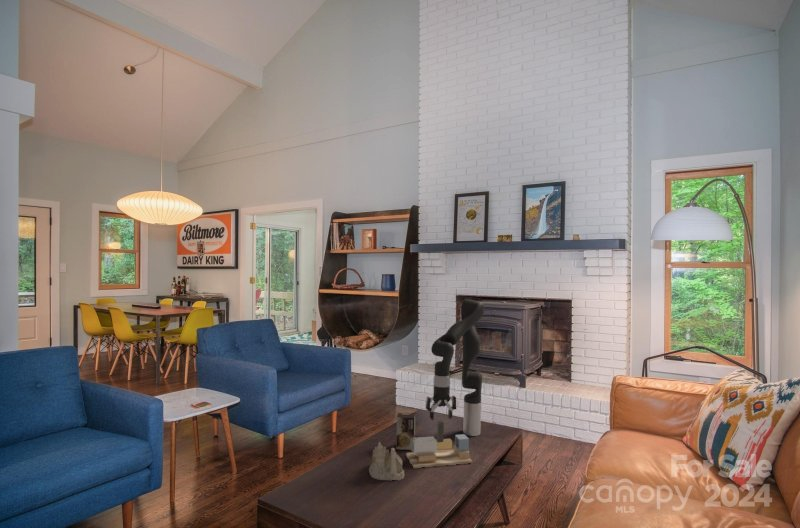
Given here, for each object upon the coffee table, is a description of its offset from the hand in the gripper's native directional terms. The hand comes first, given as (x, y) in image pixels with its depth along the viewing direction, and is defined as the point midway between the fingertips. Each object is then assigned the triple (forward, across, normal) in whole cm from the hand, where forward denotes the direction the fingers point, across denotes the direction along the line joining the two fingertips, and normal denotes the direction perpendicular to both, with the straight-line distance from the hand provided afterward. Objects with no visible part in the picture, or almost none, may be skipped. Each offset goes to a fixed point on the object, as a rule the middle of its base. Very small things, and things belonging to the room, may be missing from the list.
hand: (440, 418), depth 212 cm
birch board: (+19, +1, 0) cm, 19 cm away
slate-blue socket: (+18, -11, 0) cm, 21 cm away
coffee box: (+19, +12, -16) cm, 28 cm away
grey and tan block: (+18, +8, 0) cm, 20 cm away
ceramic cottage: (+20, +27, +8) cm, 34 cm away
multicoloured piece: (+14, +3, 0) cm, 14 cm away
